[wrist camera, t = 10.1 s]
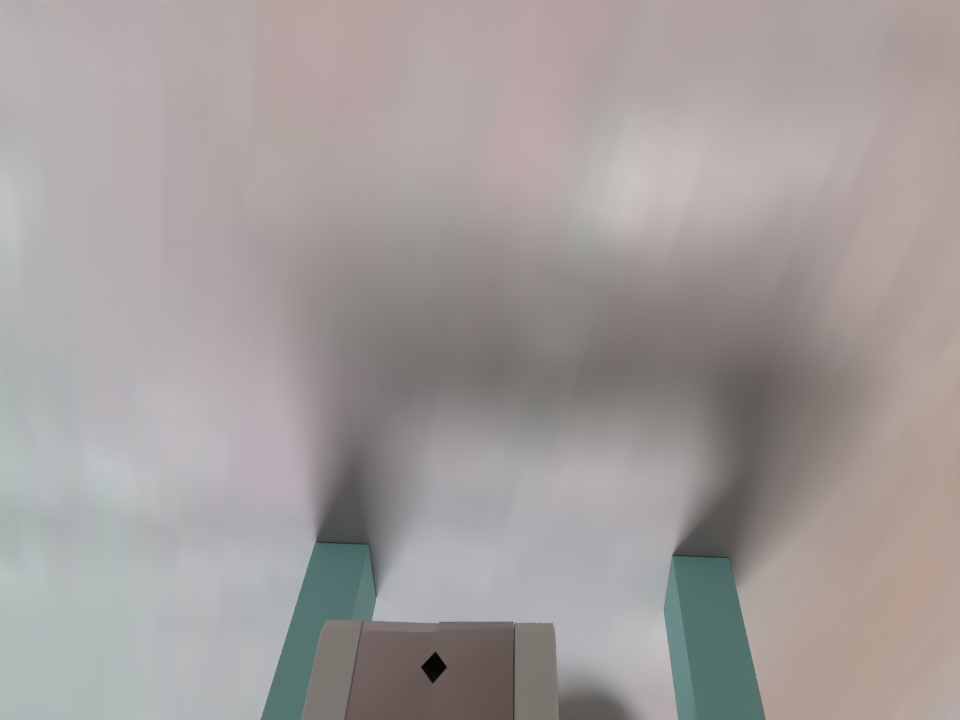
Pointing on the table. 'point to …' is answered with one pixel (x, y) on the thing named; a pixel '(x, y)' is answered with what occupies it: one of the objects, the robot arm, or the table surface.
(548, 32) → the table surface
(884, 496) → the table surface
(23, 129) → the table surface
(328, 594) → the bridge
